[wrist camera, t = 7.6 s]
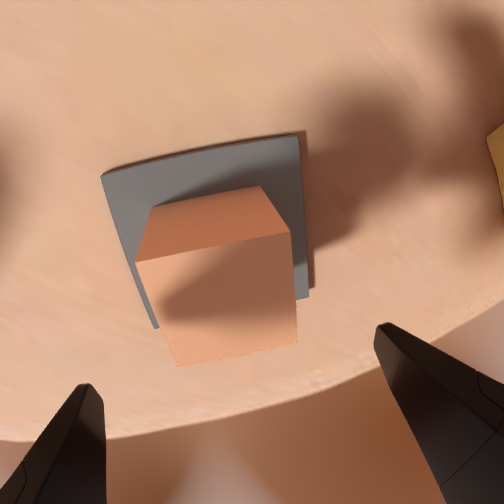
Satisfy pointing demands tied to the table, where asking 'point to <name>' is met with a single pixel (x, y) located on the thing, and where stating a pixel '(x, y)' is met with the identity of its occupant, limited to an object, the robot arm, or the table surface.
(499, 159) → the cheese
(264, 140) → the coaster
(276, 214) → the cube
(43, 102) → the table surface
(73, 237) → the table surface
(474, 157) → the table surface
